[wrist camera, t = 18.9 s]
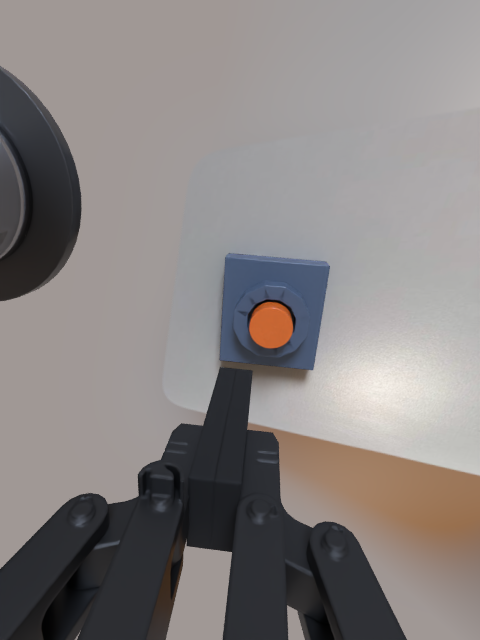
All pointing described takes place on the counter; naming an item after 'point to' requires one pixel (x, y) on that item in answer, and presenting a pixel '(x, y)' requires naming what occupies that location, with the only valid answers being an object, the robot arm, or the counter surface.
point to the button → (271, 325)
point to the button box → (272, 286)
